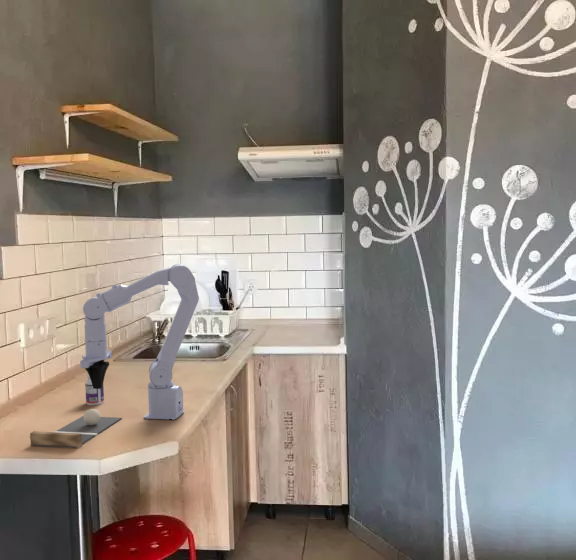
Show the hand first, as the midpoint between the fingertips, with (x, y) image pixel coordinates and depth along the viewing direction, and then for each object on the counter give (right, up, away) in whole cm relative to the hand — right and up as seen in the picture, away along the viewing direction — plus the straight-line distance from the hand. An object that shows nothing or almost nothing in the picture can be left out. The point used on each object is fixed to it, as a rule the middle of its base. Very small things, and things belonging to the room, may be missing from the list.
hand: (97, 388), depth 181 cm
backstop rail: (-4, -11, -21) cm, 24 cm away
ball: (-1, -9, -4) cm, 10 cm away
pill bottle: (-7, -8, +19) cm, 22 cm away
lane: (-2, -10, -10) cm, 14 cm away
